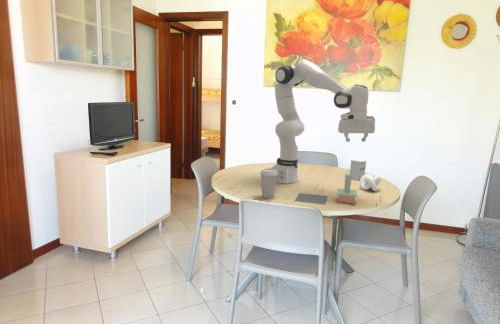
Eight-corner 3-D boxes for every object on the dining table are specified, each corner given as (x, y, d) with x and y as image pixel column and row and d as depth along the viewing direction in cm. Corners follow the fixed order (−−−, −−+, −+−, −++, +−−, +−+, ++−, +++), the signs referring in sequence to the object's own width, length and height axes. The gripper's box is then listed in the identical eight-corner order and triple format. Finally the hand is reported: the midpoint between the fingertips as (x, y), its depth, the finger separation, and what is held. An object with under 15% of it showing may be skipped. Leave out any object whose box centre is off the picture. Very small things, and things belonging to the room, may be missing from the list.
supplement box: (358, 180, 235) (360, 161, 233) (349, 178, 241) (350, 159, 238) (364, 179, 240) (366, 160, 237) (355, 176, 246) (357, 158, 243)
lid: (336, 194, 185) (338, 176, 183) (337, 189, 194) (339, 172, 192) (356, 197, 182) (358, 178, 180) (356, 191, 192) (358, 173, 190)
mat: (294, 201, 186) (294, 201, 186) (299, 193, 201) (299, 192, 201) (325, 205, 182) (325, 204, 182) (327, 196, 197) (328, 196, 197)
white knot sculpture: (356, 190, 212) (357, 175, 210) (362, 186, 222) (363, 172, 220) (375, 193, 206) (377, 178, 204) (380, 189, 216) (382, 174, 214)
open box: (338, 202, 187) (338, 194, 186) (338, 198, 194) (339, 190, 193) (353, 204, 184) (354, 196, 183) (354, 200, 192) (354, 192, 191)
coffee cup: (280, 197, 194) (281, 170, 191) (269, 200, 187) (270, 173, 184) (266, 193, 200) (267, 167, 197) (255, 196, 193) (256, 169, 190)
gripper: (372, 115, 194) (369, 140, 197) (337, 115, 190) (335, 140, 193) (378, 116, 188) (376, 142, 191) (343, 116, 184) (341, 142, 186)
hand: (355, 141), depth 192 cm, fingers open, 8 cm apart
